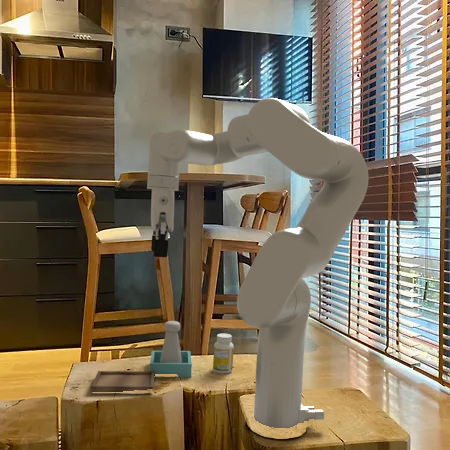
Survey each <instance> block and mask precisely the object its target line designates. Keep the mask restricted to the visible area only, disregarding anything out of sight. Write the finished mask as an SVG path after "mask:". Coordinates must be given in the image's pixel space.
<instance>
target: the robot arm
mask: <svg viewBox="0 0 450 450" xmlns="http://www.w3.org/2000/svg"><path fill="white" fill-rule="evenodd" d="M308 116H309V115H308V114H306V112H305V111H304V110H303V109H302V108H301V107H299V106H297V105H295V104H292V103H289V102H287V101H284V100H282V99H278V98H276V97H275V98H274V97H268V98H267V97H266V98H264V99H261V100H259V101H257V102H256V103H254V104H253V106H252V107H251V108H250V110H249V111H248V113H246V114H241V115H237V116H234V117H233V118H232V119H231V120H230V121H229V123H228V124H227V125H228V126H227V130H226V131H222V132H218V133H212V134H207V133H204V132H199V131H194V130H188V129H183V128H182V129H181V128H180V129H175V130H170V131H154V132H152V133H151V134H150V137H149V150H148V166H147V167H148V168H147V181H146V183H147V185H146V189H147V190H151V199H150V200H151V202H150V203H151V205H150V225H151V229H152V235H151V245H150V250H151V252H153V257H154V258H167V257H168V253H169V252H168V251H169V232H171V233H172V232H173V231H174V227H175V226H174V221H175V220H174V219H175V191H178V192H179V185H180V184H179V183H180V169H181V168H180V167H181V164H189V165H198V166H208V167H209V166H216V165H222V164H228V163H231V162H232V163H233V162H236V161H238V160H240V159H243V158H244V157H247V156H253V155H257V154H262V153H263V154H264V153H267V152H268V153H270V154H271V155H272V156H273V157H274V158H275V159H277V160H278V161H279V162H281V164H282V165H284V166H285V167H286V168H288V169H289V170H290V171H291V172H293V173H294V174H296V175H298V176H299V177H302V178H304V179H308V180H314V181H321V182H323V184H322V187H321V188H320V189H319V191H318V192H317V193H316V194H314V195H315V196H313V197H312V199H311V201H310V202H309V203H308V205H307V207H306V209H305V212H304V213H303V215H302V217H301V218H300V219H299V222H298V223H297V224H296V226H295V227H293V228H284V229H280V230H277V231H275V232H273V233H272V234H271V235H270V236H268V237H267V239H266V240H265V241H264V242H263V244H262V245H261V247H260V248H259V251H258V252H257V254H256V256H255V258H254V260H253V262H252V264H251V266H250V268H249V270H248V271H247V274H246V275H245V277H244V280H243V281H242V283H241V285H240V288H239V291H238V293H237V298H236V306H237V307H236V309H237V311H238V314H239V317H240V318H241V319H242V321H243V322H244V323H245V324H246V325H248V326H249V327H252V328H254V329H255V328H256V329H259V331H258V335H257V336H258V337H257V349H256V362H255V363H256V364H255V387H254V402H253V403H254V406H253V407H254V408H253V410H254V418H255V420H256V421H258V422H259V423H261V424H263V425H266V426H269V427H274V428H290V427H293V426H295V425H297V424H298V423H304V421H307V422H309V421H310V420H315V421H316V420H317V421H318V420H319V421H321V420H324V419H325V412H324V410H323V409H315V406H314V405H307V406H306V405H305V406H304V404H303V403H302V393H303V375H304V361H305V359H304V356H305V343H306V332H307V326H308V320H309V315H310V310H311V306H312V305H311V303H312V296H311V295H312V294H311V290H310V288H309V285H308V284H307V282H306V281H305V279H304V278H310V277H312V276H315V275H316V276H317V275H318V274H320V273H321V272H323V270H325V269H326V267H327V266H328V264H329V262H330V260H331V259H332V257H333V255H334V253H335V251H336V250H337V248H338V246H339V244H340V243H341V241H342V239H343V237H344V235H345V233H346V231H347V229H348V228H349V226H350V224H351V222H352V220H353V219H354V218H355V216H356V214H357V212H358V210H359V209H360V206H361V205H362V203H363V202H364V199H365V197H366V194H367V192H368V187H369V169H368V165H367V163H366V161H365V158H364V156H363V155H362V153H361V152H360V150H359V149H358V148H357V147H356V146H355V145H353V144H352V143H350V141H347V140H346V139H343V138H341V137H338V136H335V135H332V134H328V133H325V132H322V131H321V130H319V129H317V128H316V127H314V126H313V125H311V122H310V119H309V117H308Z"/></svg>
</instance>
